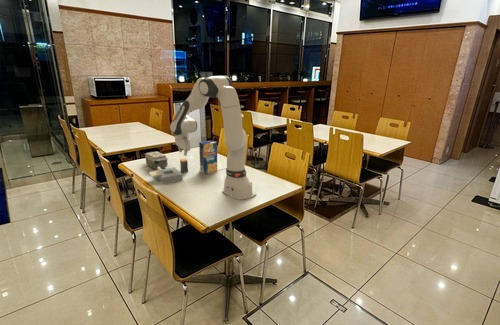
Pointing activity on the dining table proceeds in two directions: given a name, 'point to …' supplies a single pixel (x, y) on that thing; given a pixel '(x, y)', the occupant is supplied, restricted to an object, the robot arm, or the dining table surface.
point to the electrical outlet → (156, 160)
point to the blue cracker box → (208, 156)
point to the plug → (184, 165)
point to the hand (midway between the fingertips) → (182, 153)
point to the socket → (169, 175)
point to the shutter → (156, 172)
